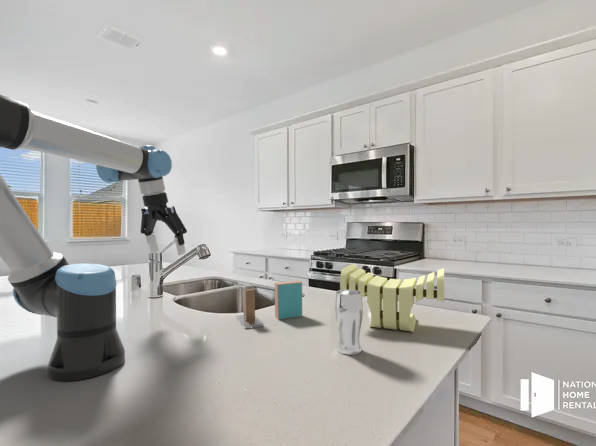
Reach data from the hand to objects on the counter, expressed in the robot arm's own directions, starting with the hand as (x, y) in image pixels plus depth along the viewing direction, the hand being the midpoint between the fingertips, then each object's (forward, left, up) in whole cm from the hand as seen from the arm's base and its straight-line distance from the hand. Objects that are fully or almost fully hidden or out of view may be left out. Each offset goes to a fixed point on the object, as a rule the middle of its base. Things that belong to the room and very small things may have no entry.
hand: (168, 253), depth 116 cm
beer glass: (-52, -41, -23) cm, 70 cm away
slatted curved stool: (-40, -65, -23) cm, 79 cm away
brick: (-18, -38, -23) cm, 48 cm away
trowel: (-18, -24, -23) cm, 37 cm away
